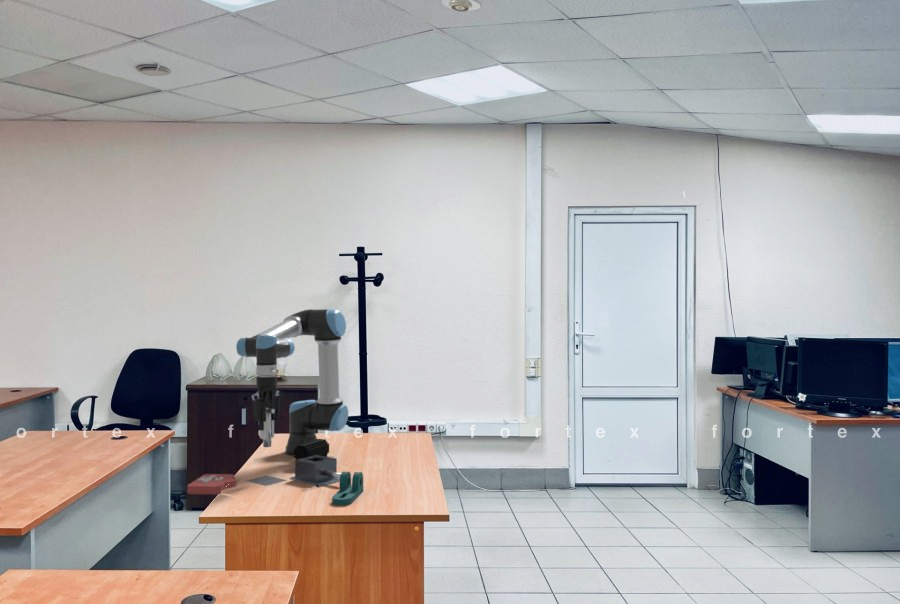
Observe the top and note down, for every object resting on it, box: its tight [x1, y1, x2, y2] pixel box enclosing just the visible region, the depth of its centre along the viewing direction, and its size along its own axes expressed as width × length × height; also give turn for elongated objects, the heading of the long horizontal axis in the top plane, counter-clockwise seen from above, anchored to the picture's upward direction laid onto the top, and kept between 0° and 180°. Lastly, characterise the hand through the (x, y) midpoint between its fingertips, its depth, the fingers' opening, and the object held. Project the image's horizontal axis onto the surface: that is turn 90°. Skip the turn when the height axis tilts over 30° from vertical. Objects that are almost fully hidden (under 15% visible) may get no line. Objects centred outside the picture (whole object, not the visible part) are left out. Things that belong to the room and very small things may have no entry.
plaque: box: [186, 473, 237, 495], centre depth 256 cm, size 18×4×15 cm
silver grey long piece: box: [262, 407, 275, 448], centre depth 265 cm, size 7×3×14 cm, turn 54°
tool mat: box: [245, 475, 288, 487], centre depth 264 cm, size 12×10×1 cm
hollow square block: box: [289, 455, 342, 488], centre depth 265 cm, size 22×12×8 cm, turn 54°
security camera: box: [293, 438, 330, 460], centre depth 291 cm, size 7×18×10 cm, turn 155°
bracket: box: [331, 471, 364, 507], centre depth 243 cm, size 18×7×8 cm, turn 172°
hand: (267, 437), depth 265 cm, fingers closed on silver grey long piece, 3 cm apart
